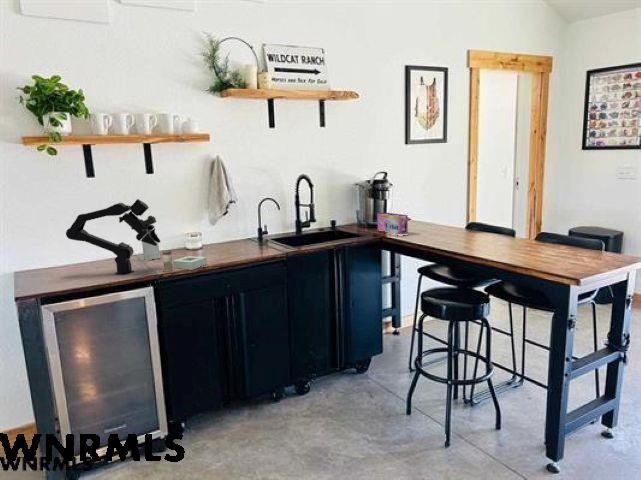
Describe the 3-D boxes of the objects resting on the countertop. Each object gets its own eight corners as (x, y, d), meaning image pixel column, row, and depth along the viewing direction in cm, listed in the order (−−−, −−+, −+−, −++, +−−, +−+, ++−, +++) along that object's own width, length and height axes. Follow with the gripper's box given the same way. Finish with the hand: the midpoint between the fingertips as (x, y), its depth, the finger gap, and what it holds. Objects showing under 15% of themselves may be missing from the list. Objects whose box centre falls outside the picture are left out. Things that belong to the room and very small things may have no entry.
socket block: (192, 269, 250) (191, 262, 249) (173, 268, 255) (173, 260, 254) (206, 264, 261) (206, 257, 260) (188, 263, 266) (188, 256, 265)
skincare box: (158, 257, 285) (155, 232, 282) (160, 259, 280) (157, 233, 277) (143, 259, 281) (140, 233, 278) (145, 261, 276) (142, 235, 273)
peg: (169, 272, 247) (167, 252, 245) (162, 271, 249) (160, 252, 247) (174, 270, 251) (173, 251, 249) (168, 269, 253) (166, 250, 251)
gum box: (409, 235, 323) (409, 215, 320) (400, 237, 318) (400, 216, 316) (386, 231, 342) (385, 212, 340) (377, 232, 338) (376, 213, 336)
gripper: (141, 213, 236) (166, 235, 240) (149, 209, 254) (172, 229, 258) (125, 229, 237) (150, 251, 240) (134, 224, 255) (157, 244, 258)
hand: (158, 243), depth 249 cm, fingers open, 9 cm apart
